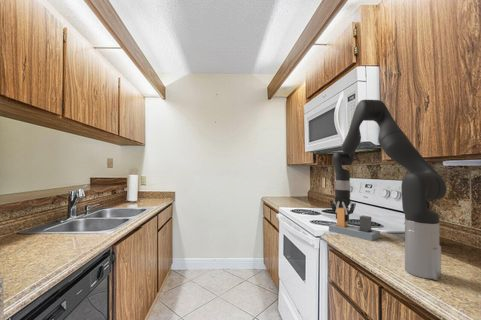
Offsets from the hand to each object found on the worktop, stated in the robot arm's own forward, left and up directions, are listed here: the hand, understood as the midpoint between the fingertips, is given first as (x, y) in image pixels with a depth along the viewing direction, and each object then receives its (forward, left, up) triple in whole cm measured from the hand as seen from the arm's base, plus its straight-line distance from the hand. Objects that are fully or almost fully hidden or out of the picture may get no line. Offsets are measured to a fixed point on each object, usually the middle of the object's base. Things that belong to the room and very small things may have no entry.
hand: (342, 220), depth 132 cm
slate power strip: (-6, 0, -6) cm, 8 cm away
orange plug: (0, 0, -3) cm, 3 cm away
